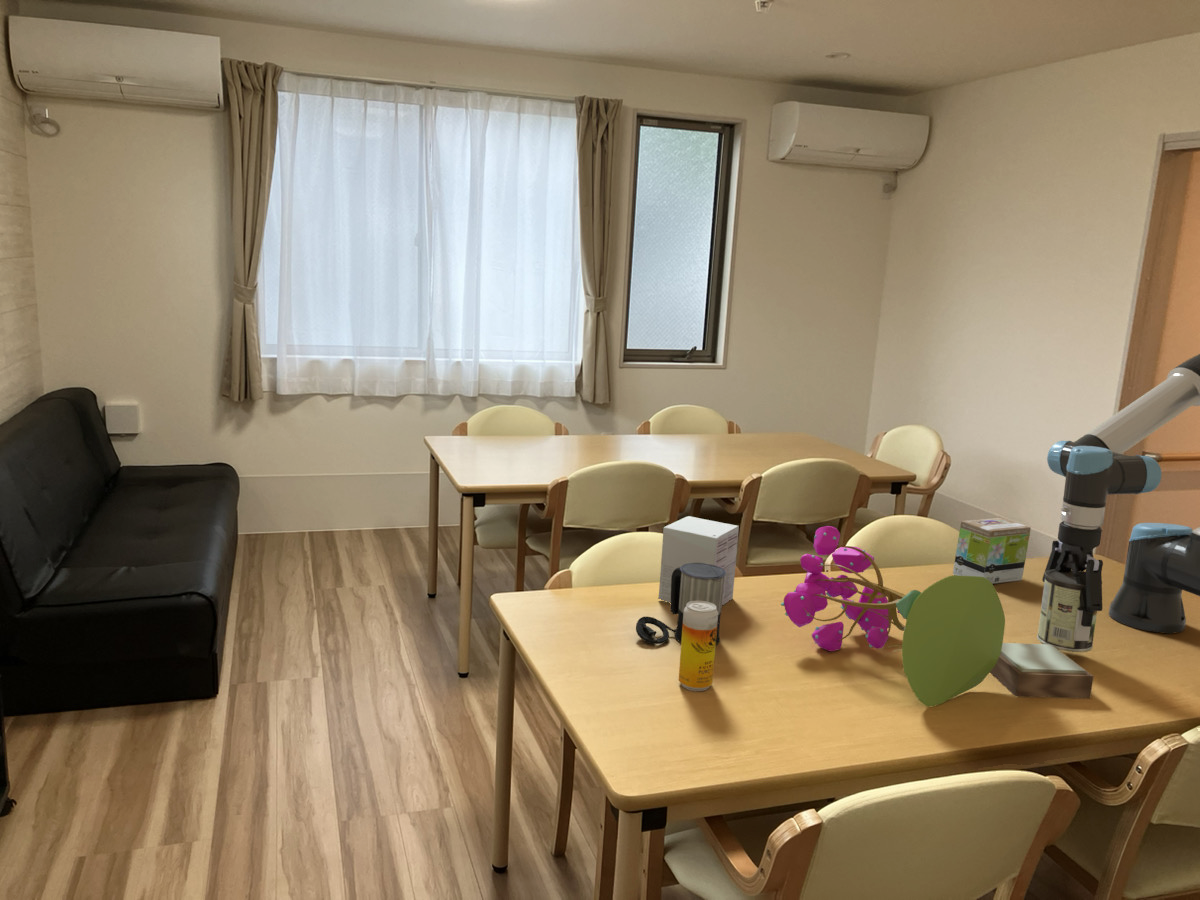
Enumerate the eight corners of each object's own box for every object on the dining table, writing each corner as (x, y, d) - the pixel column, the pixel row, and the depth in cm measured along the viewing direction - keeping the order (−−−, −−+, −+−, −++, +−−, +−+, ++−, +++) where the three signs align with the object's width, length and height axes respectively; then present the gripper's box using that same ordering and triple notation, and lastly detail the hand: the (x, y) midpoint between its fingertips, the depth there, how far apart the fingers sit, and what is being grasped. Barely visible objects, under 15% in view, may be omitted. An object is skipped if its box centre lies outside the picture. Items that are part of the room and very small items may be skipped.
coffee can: (1083, 635, 189) (1092, 571, 186) (1099, 655, 179) (1109, 587, 176) (1030, 630, 191) (1039, 566, 188) (1043, 649, 181) (1052, 582, 178)
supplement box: (734, 598, 209) (740, 525, 205) (710, 615, 198) (717, 538, 194) (682, 586, 215) (687, 515, 212) (656, 601, 204) (662, 526, 201)
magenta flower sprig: (917, 537, 155) (780, 515, 186) (886, 702, 154) (753, 653, 184) (1023, 563, 170) (880, 538, 201) (996, 714, 169) (856, 666, 199)
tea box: (983, 587, 227) (991, 530, 224) (951, 574, 236) (958, 519, 233) (1023, 581, 234) (1032, 525, 231) (991, 569, 243) (998, 515, 240)
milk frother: (729, 640, 184) (735, 571, 181) (681, 661, 173) (686, 587, 170) (675, 619, 194) (680, 553, 191) (625, 638, 182) (630, 567, 180)
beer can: (703, 695, 159) (709, 614, 156) (672, 686, 162) (678, 606, 159) (717, 683, 164) (724, 605, 161) (687, 674, 167) (693, 597, 164)
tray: (1049, 666, 180) (1052, 642, 179) (1089, 698, 166) (1094, 673, 165) (980, 664, 179) (983, 640, 178) (1015, 696, 165) (1019, 670, 164)
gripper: (1033, 509, 191) (1019, 608, 195) (1095, 540, 169) (1079, 652, 173) (1067, 509, 191) (1053, 609, 195) (1134, 541, 169) (1117, 652, 173)
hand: (1065, 629), depth 184 cm, fingers closed on coffee can, 10 cm apart
